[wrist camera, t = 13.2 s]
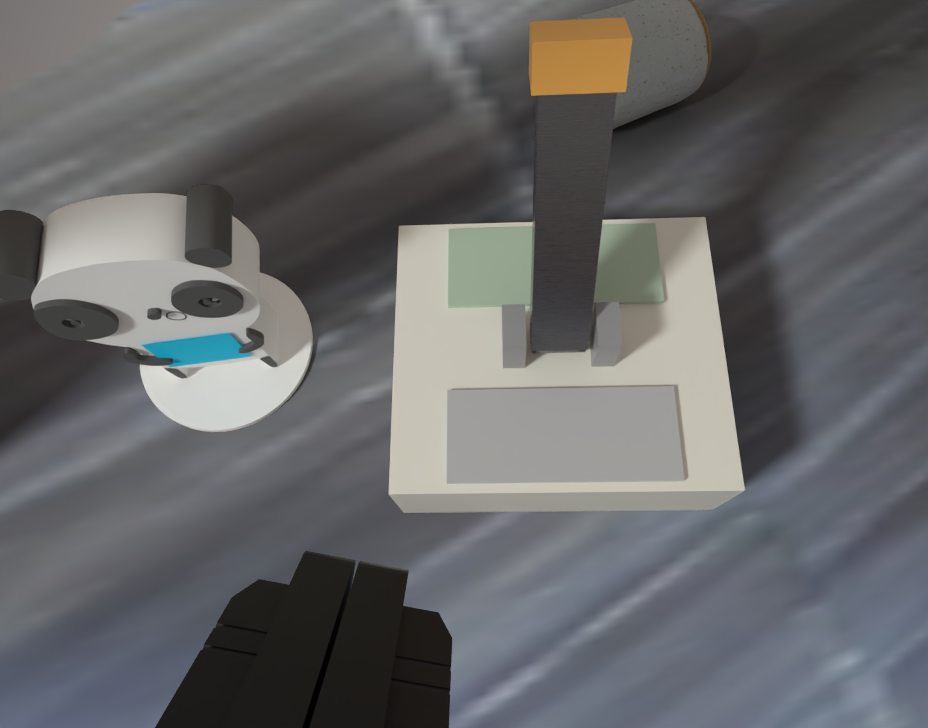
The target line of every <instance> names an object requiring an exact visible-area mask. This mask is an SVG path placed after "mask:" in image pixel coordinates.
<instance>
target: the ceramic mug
mask: <svg viewBox="0 0 928 728" xmlns="http://www.w3.org/2000/svg"><path fill="white" fill-rule="evenodd" d="M601 18H625V20H626V22H627V25H628V28H629V30H630V33H631V36H632V46H631V54H630V62H629V70H628V79H627V87H626V92H617V97H616V106H615V115H614V123H613V129H614V128H617V127H619V126H621V125H624V124H626V123H629V122H631V121H633V120H636V119H638V118H641V117H643V116H646V115H648V114H650V113H653V112H655V111H657V110H660V109H663V108H665V107H668V106H671V105H673V104H676V103H678V102H680V101H682V100H683V99H685V98H687V97H688V96H690V95H691V94H693V93H694V92H696V91H697V90H698V89H699V88H700V87H701V86H702V84H703V83H704V81H705V79H706V77H707V74H708V71H709V68H710V62H711V39H710V34H709V30H708V26H707V23H706V20H705V18H704V16H703V14H702V12H701V11H700V9H699V7H698V6H697V5H696V4H695V3H694V2H693V1H692V0H634V1H632V2H629V3H625V4H621V5H618V6H614V7H611V8H607V9H604V10H600V11H597V12H593V13H589V14H586V15H582V16H580V17H577V18H575V19H573V20H577V19H601Z"/></svg>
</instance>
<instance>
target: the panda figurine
mask: <svg viewBox="0 0 928 728" xmlns="http://www.w3.org/2000/svg"><path fill="white" fill-rule="evenodd" d="M0 298H3V299H7V300H13V301H22V300H27V299H30V298H31V302H32V306H33V309H34V317H35V319H36V321H37V322H38V324H39V325H40V326H41V327H42V328H44V329H45V330H46V331H48V332H49V333H51V334H53V335H55V336H57V337H59V338H62V339H67V340H87V341H91V342H96V343H101V344H107V345H114V346H122V347H126V348H125V352H124V358H125V359H126V360H127V361H129V362H132V363H135V364H140V372H141V377H142V381H143V384H144V387H145V389H146V391H147V393H148V395H149V397H150V398H151V400H152V401H153V403H154V404H155V405H156V406H157V407H158V408H159V409H160V410H161V411H162V412H163V413H164V414H165V415H167V416H168V417H169V418H171V419H172V420H174V421H176V422H177V423H179V424H181V425H184V426H186V427H189V428H192V429H196V430H201V431H209V432H222V431H231V430H236V429H240V428H243V427H246V426H249V425H252V424H254V423H256V422H258V421H261V420H262V419H264V418H266V417H267V416H269V415H270V414H272V413H273V412H275V411H276V410H277V409H278V408H280V407H281V406H282V405H283V404H284V403H285V402H286V401H287V400H288V399H289V398H290V397H291V396H292V394H293V393H294V392H295V391H296V389H297V388H298V386H299V385H300V383H301V381H302V380H303V378H304V376H305V374H306V371H307V369H308V366H309V363H310V360H311V355H312V348H313V333H312V327H311V322H310V319H309V316H308V314H307V311H306V309H305V307H304V306H303V304H302V302H301V301H300V299H299V298H298V297H297V295H296V294H295V293H294V292H293V291H292V290H291V289H290V288H289V287H287V286H286V285H285V284H284V283H282V282H281V281H279V280H277V279H275V278H273V277H272V276H269V275H266V274H264V273H260V256H259V244H258V241H257V239H256V238H255V236H254V235H253V233H252V232H251V231H250V230H249V229H248V228H247V227H246V226H245V225H244V224H243V223H242V222H240V221H239V220H238V219H237V218H235V217H234V216H233V215H232V198H231V196H230V194H229V193H228V192H227V191H226V190H224V189H223V188H221V187H219V186H216V185H212V184H202V185H196V186H192V187H190V188H189V189H188V190H187V196H181V195H175V194H163V193H143V194H126V195H115V196H106V197H100V198H94V199H90V200H85V201H81V202H77V203H74V204H70V205H67V206H64V207H62V208H59V209H57V210H56V211H54V212H52V213H51V214H50V215H49V216H48V217H47V218H46V219H45V220H44V222H42V221H41V220H40V219H39V218H37V217H36V216H34V215H31V214H28V213H25V212H21V211H16V210H3V211H0ZM132 348H133V349H132ZM136 351H137V352H139V353H140V354H138V353H136Z"/></svg>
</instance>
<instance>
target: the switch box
mask: <svg viewBox="0 0 928 728" xmlns="http://www.w3.org/2000/svg"><path fill="white" fill-rule="evenodd" d="M532 225H533V222H513V223H478V224H443V225H408V226H399V234H398V261H397V288H396V314H395V341H394V367H393V394H392V420H391V447H390V474H389V495H390V496H391V498H392V499H393V500H394V501H395V503H396V504H397V505H398V506H399V507H400V509H401V510H402V511H403V512H404V513H438V512H549V511H661V510H712V509H714V508H716V507H718V506H719V505H721V504H723V503H725V502H726V501H728V500H730V499H731V498H733V497H735V496H737V495H738V494H740V493H742V492H743V491H745V488H744V481H743V474H742V467H741V460H740V453H739V447H738V440H737V433H736V426H735V419H734V412H733V405H732V398H731V391H730V384H729V377H728V370H727V363H726V357H725V350H724V343H723V336H722V329H721V322H720V315H719V308H718V301H717V294H716V287H715V280H714V273H713V266H712V260H711V253H710V246H709V239H708V232H707V225H706V218H705V217H688V218H653V219H618V220H603V222H602V231H601V240H600V248H599V257H598V266H597V275H596V284H595V293H594V302H593V311H592V320H591V329H590V338H589V347H588V350H586V352H577V353H532V351H531V343H530V299H531V262H532Z"/></svg>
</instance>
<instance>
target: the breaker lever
mask: <svg viewBox="0 0 928 728" xmlns="http://www.w3.org/2000/svg"><path fill="white" fill-rule="evenodd" d="M631 46H632V36H631V33H630V30H629V28H628V25H627V22H626V20H625V18H601V19H577V20H553V21H530V38H529V80H530V89H531V96H535V95H536V114H535V151H534V188H533V225H532V262H531V299H530V343H531V351H532V353H577V352H586V350H588V347H589V338H590V329H591V320H592V311H593V302H594V293H595V284H596V275H597V266H598V257H599V248H600V240H601V231H602V222H603V213H604V204H605V195H606V186H607V177H608V168H609V159H610V150H611V141H612V132H613V123H614V115H615V106H616V97H617V92H626V87H627V79H628V70H629V62H630V54H631Z"/></svg>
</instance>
